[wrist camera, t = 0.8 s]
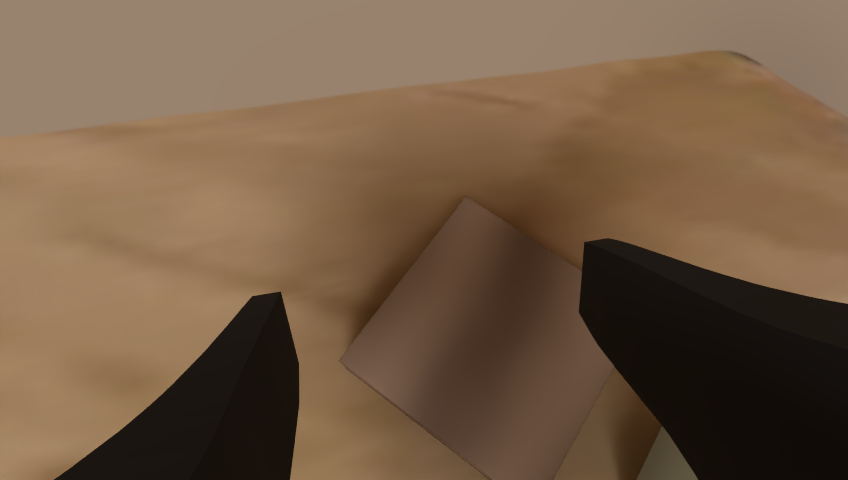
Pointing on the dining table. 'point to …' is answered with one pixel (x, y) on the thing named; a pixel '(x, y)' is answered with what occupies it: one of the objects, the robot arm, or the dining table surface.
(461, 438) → the walnut block
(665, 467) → the sage block
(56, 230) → the dining table surface
